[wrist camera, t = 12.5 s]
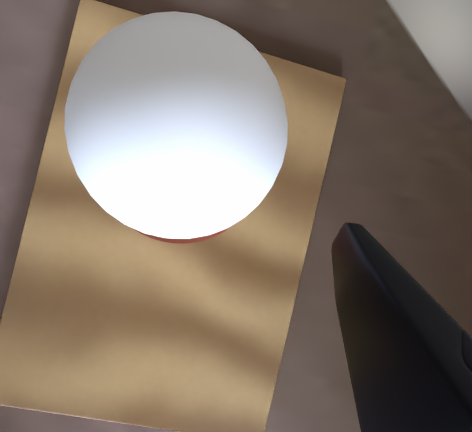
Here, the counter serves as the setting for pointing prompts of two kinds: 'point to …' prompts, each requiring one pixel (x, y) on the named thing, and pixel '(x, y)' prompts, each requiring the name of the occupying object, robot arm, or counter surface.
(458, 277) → the counter surface
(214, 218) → the lightbulb
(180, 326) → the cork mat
